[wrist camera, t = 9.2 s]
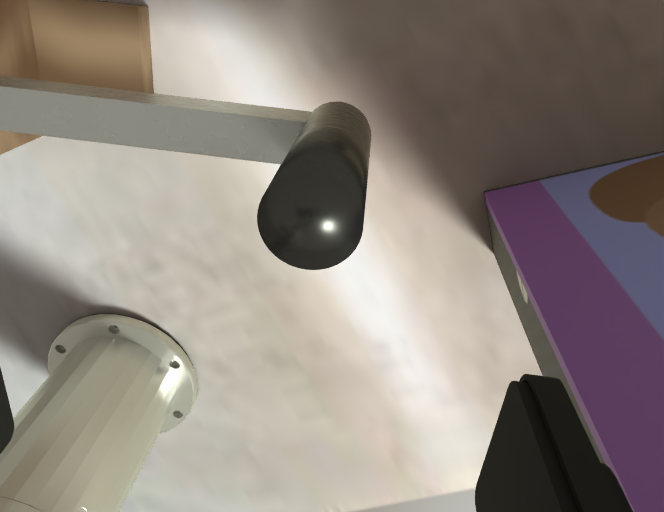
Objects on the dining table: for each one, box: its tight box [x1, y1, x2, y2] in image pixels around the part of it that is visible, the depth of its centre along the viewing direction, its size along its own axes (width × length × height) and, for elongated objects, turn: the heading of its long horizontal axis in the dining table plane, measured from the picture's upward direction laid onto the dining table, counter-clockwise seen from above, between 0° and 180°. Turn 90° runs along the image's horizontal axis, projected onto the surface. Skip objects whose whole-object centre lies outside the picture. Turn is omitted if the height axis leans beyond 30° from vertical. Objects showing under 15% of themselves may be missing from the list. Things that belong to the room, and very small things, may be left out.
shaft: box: [0, 76, 371, 270], centre depth 20 cm, size 3×22×10 cm, turn 84°
